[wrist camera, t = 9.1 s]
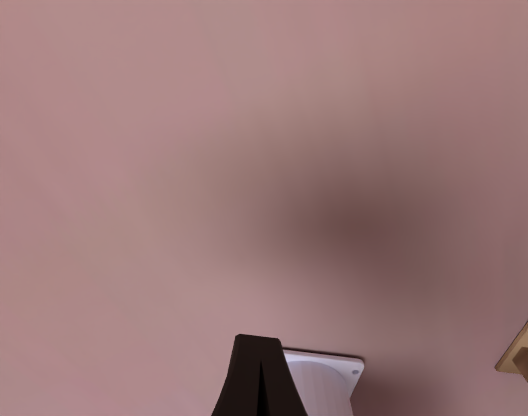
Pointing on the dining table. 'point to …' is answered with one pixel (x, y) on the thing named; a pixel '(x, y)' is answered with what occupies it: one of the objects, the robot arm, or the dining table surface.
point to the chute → (516, 356)
